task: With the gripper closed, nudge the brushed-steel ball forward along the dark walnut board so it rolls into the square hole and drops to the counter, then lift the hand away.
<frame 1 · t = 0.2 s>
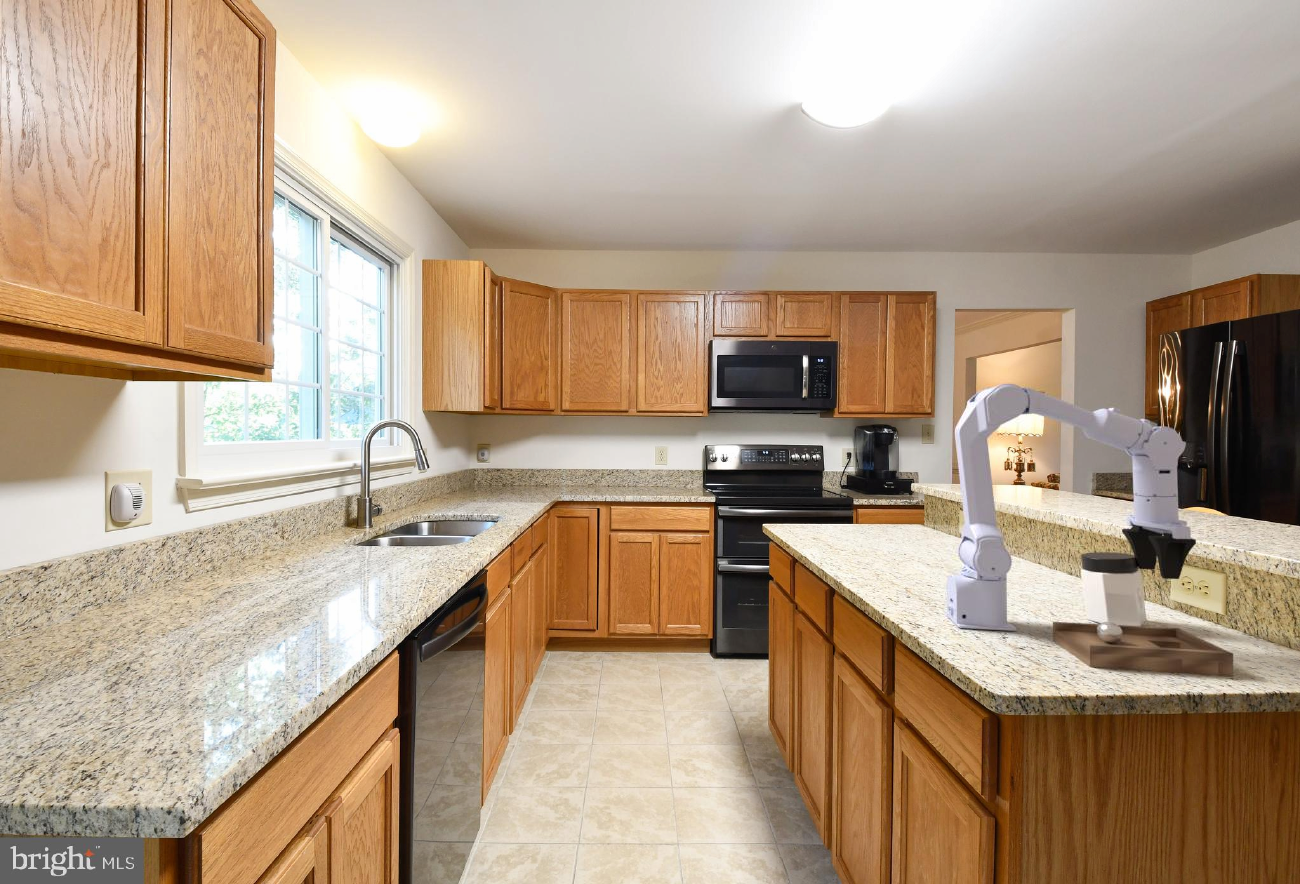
hand: (1158, 573, 97), 11 cm above the worktop, fingers open, 6 cm apart
jar: (1116, 621, 103), on the worktop, touching gripper
board: (1135, 656, 87), on the worktop
ball: (1109, 632, 88), point 4 cm above the worktop, touching board
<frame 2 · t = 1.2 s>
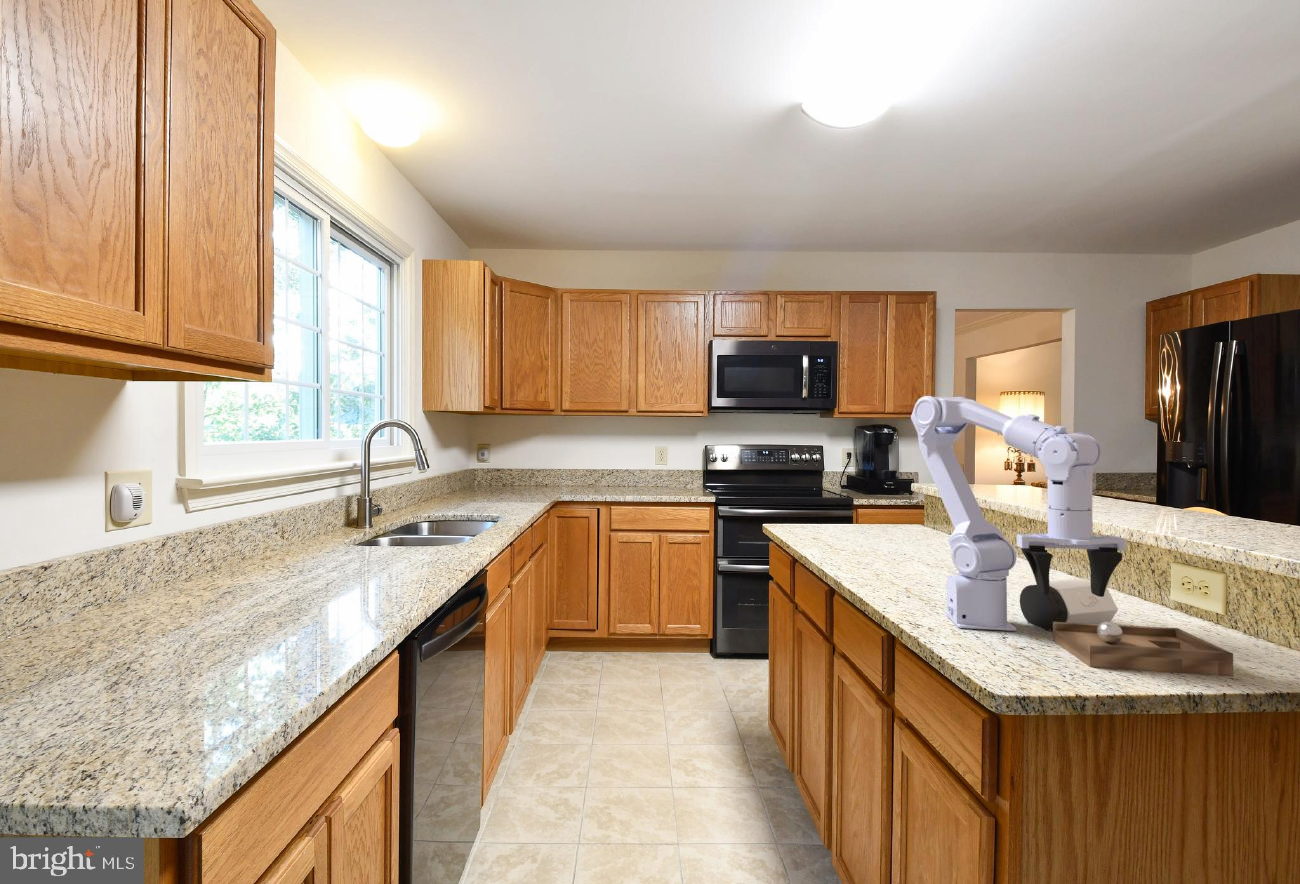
hand: (1070, 594, 89), 9 cm above the worktop, fingers open, 7 cm apart
jar: (1096, 602, 103), point 4 cm above the worktop
everything else where it was.
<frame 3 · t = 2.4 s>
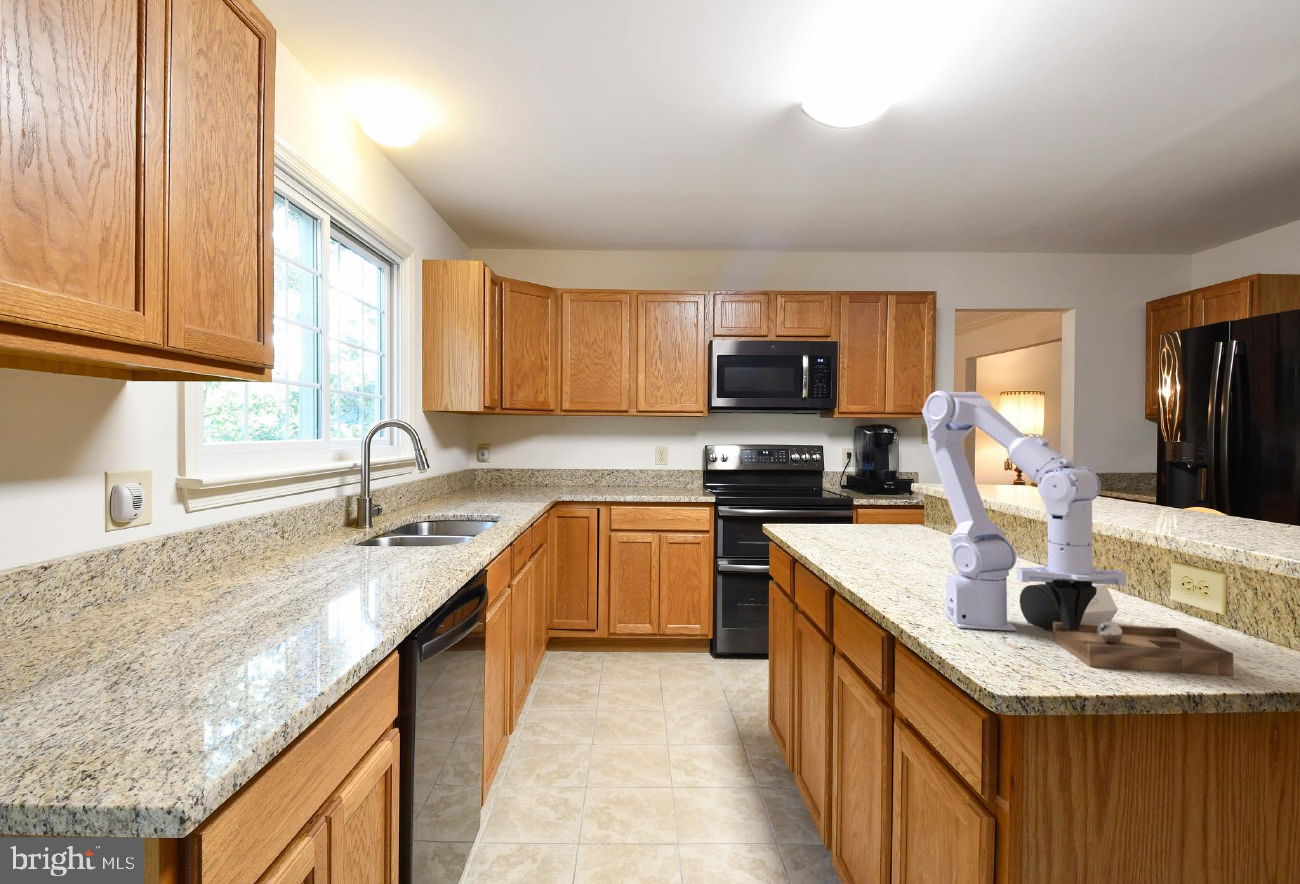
hand: (1070, 628, 89), 4 cm above the worktop, fingers closed
nothing on the worktop moved.
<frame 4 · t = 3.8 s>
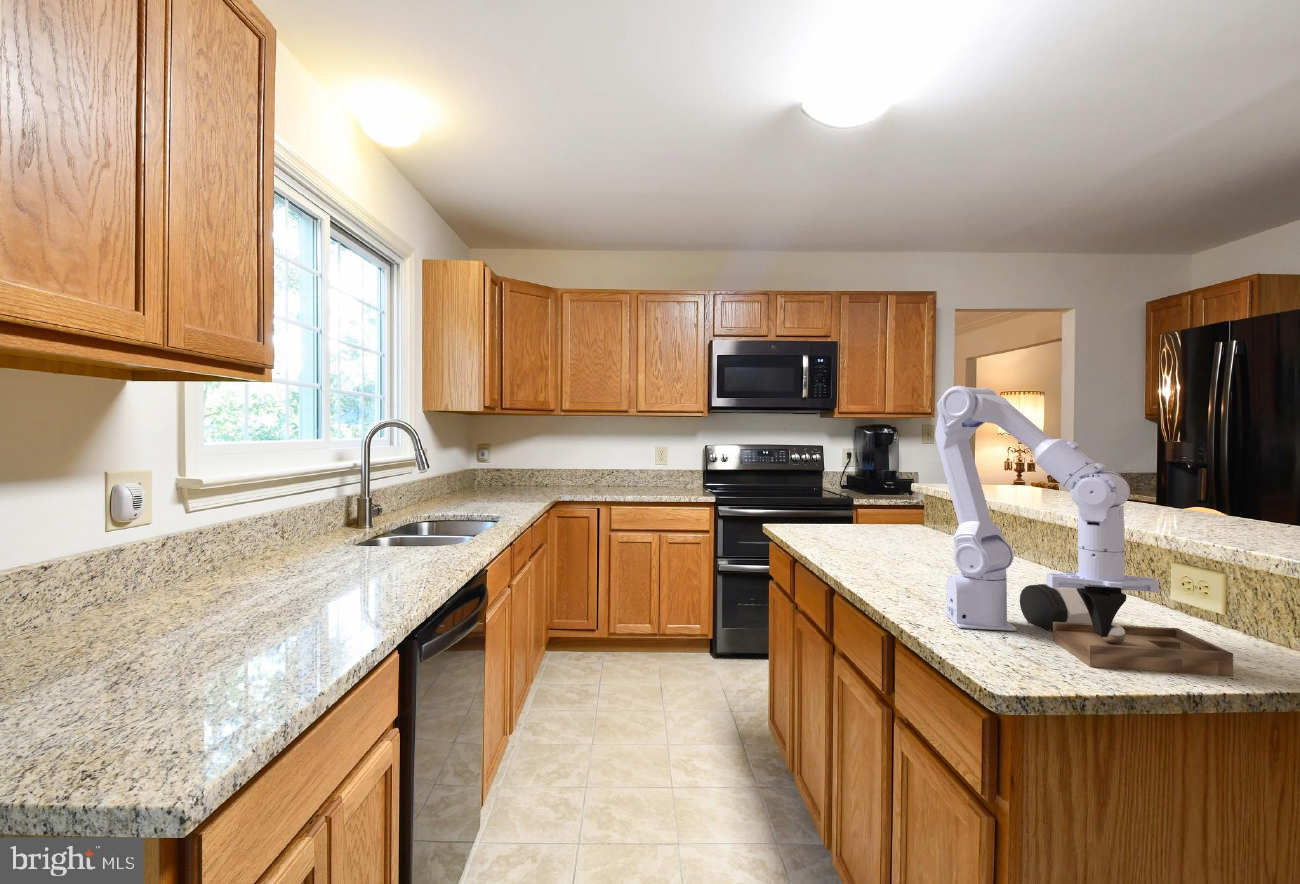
hand: (1101, 635, 88), 3 cm above the worktop, fingers closed, pressing on ball
ball: (1112, 633, 88), point 4 cm above the worktop, tilted 13°, touching board, gripper
everything else where it was.
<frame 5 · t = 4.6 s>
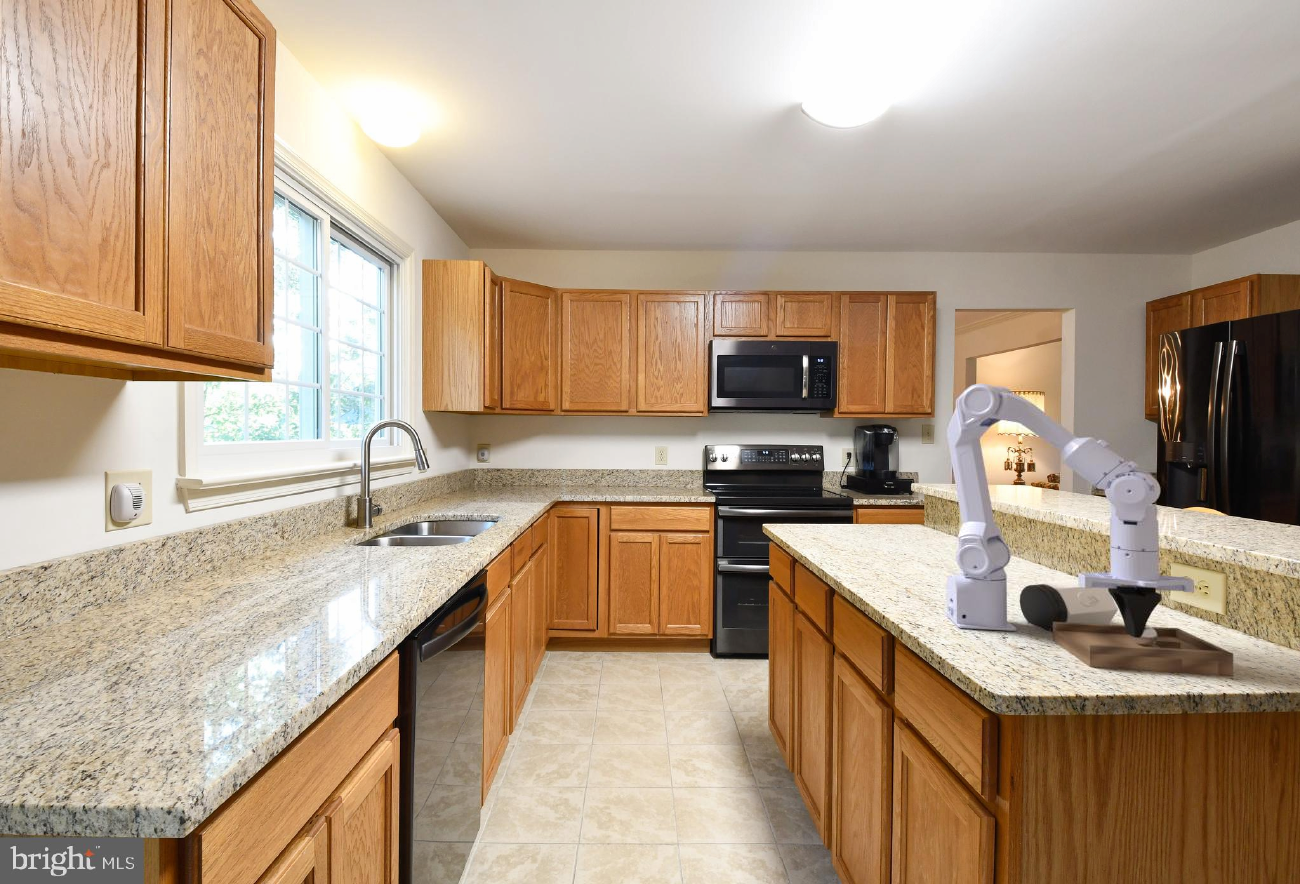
hand: (1135, 635, 87), 3 cm above the worktop, fingers closed, pressing on ball
ball: (1143, 634, 87), point 4 cm above the worktop, tilted 167°, touching board, gripper
everything else where it was.
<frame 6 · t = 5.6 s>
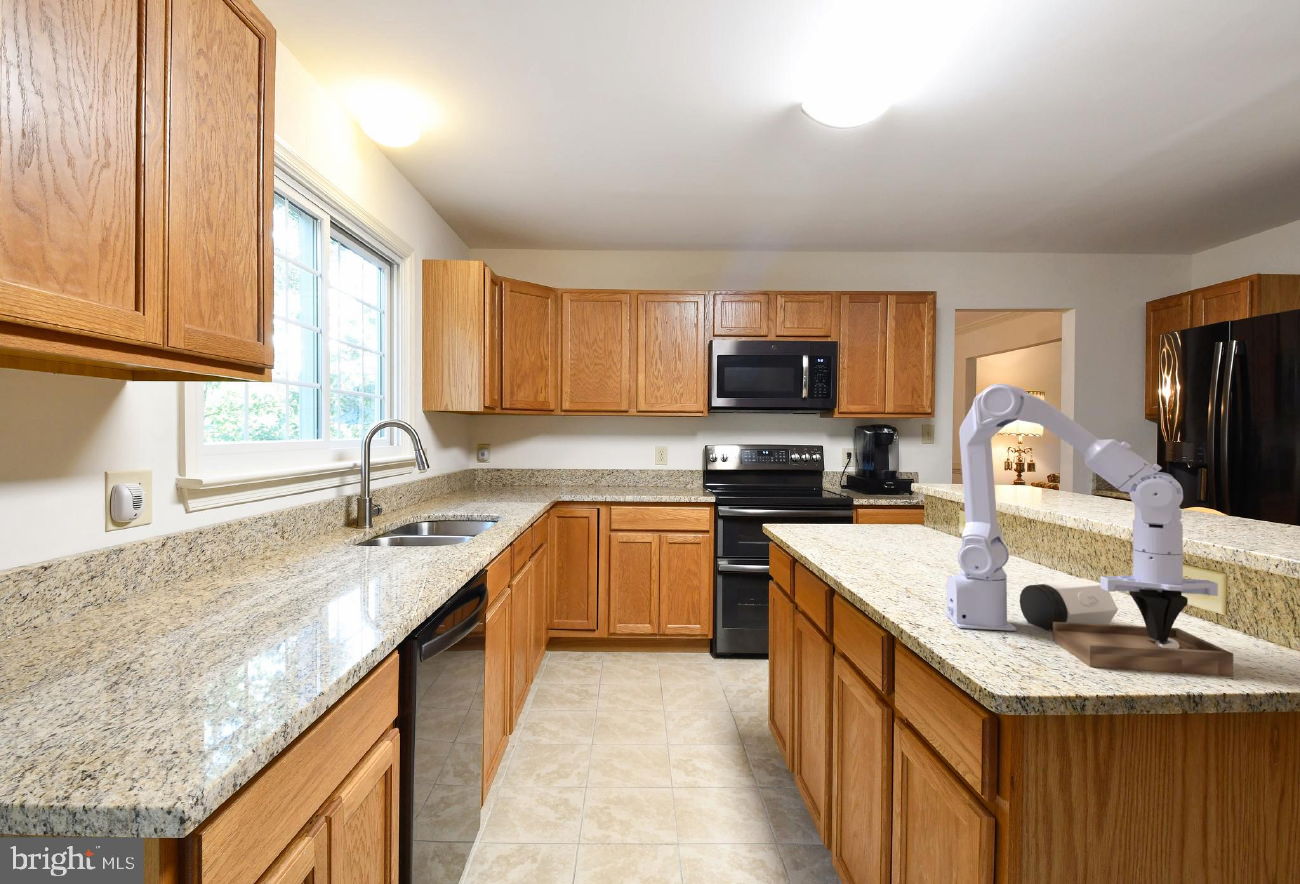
hand: (1157, 638, 86), 3 cm above the worktop, fingers closed
ball: (1168, 648, 86), point 2 cm above the worktop, tilted 18°, touching gripper
everything else where it was.
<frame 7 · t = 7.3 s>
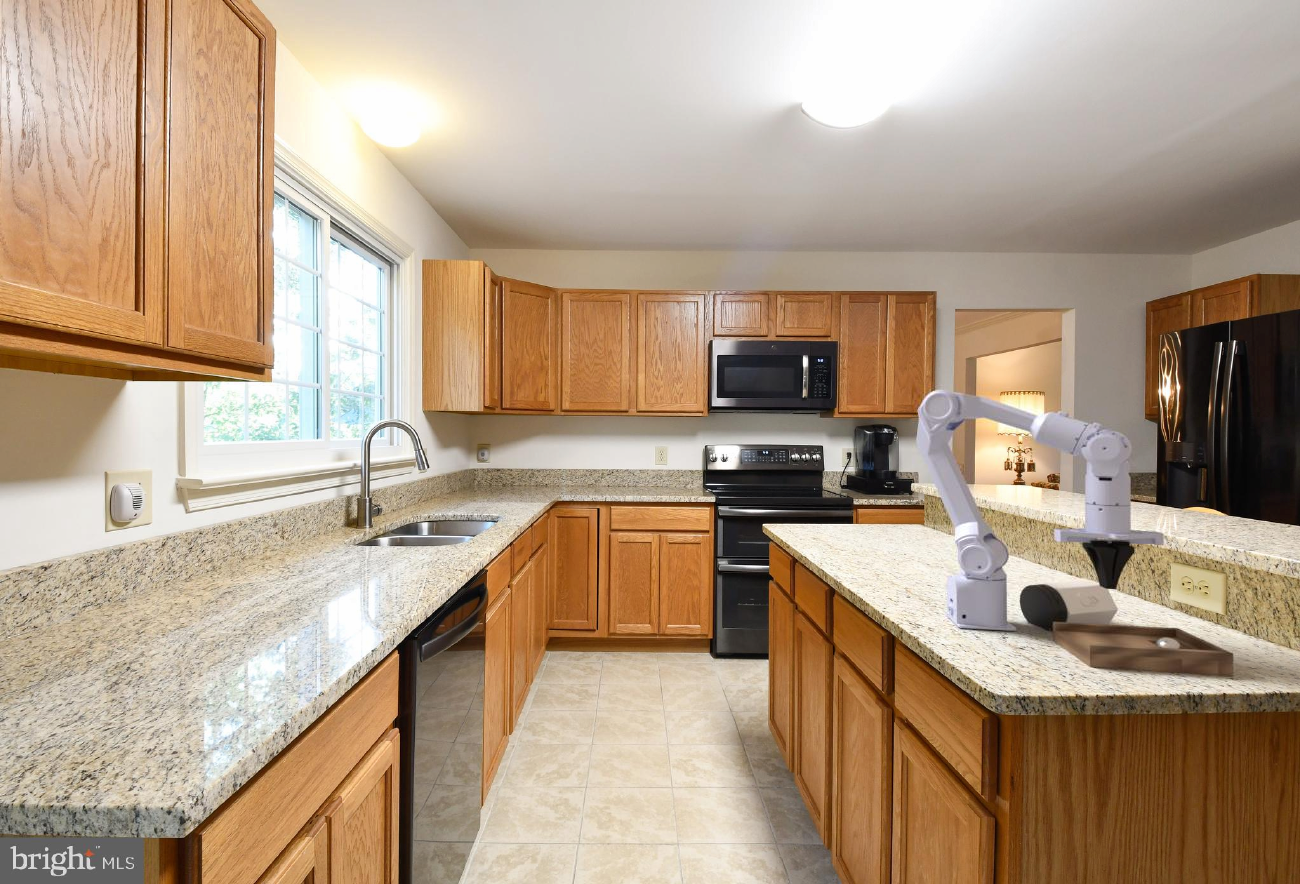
hand: (1107, 587, 91), 10 cm above the worktop, fingers closed
ball: (1168, 648, 86), point 2 cm above the worktop, tilted 16°
everything else where it was.
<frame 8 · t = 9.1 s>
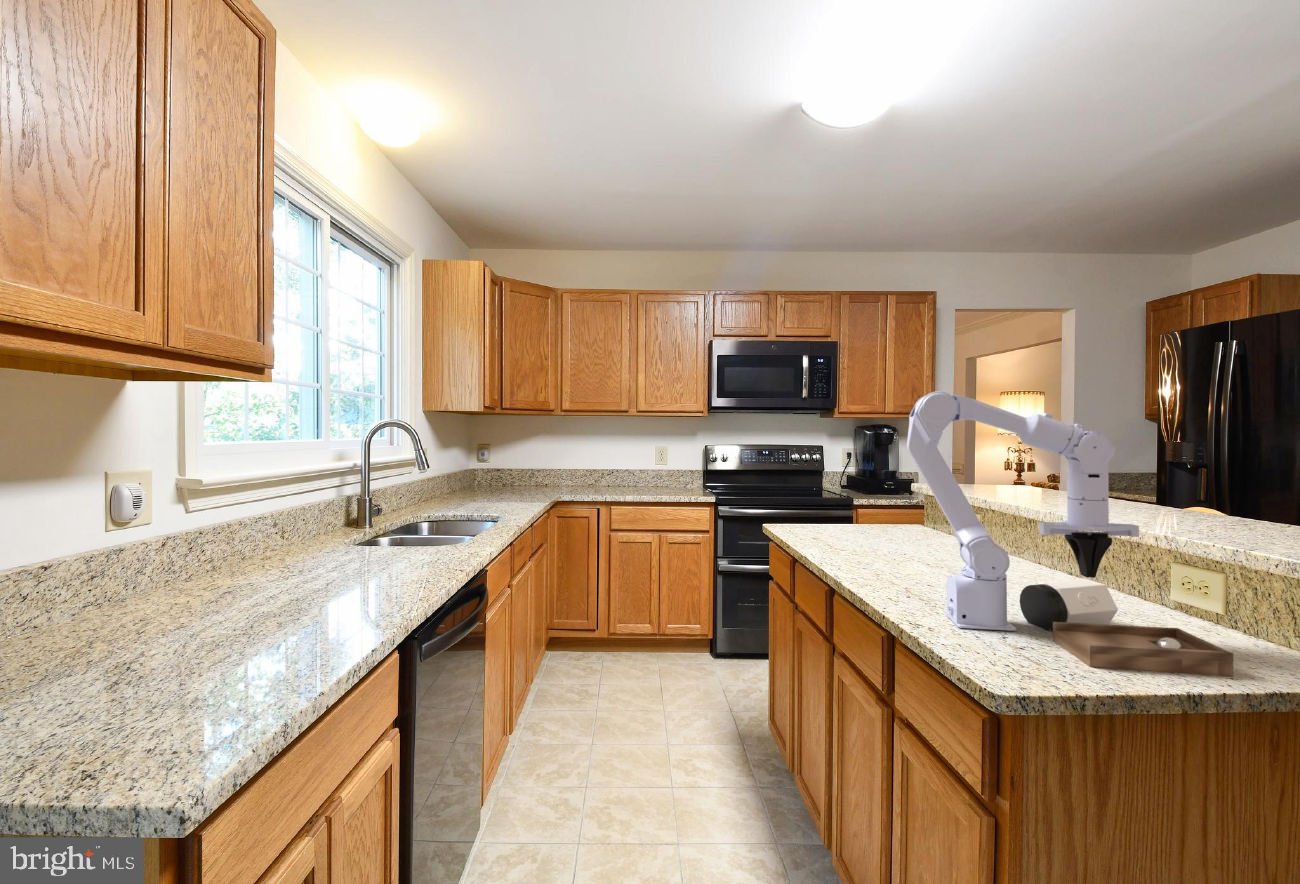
hand: (1088, 576, 98), 10 cm above the worktop, fingers closed
nothing on the worktop moved.
at the end: ball 0.4 cm from the target spot on the board, point 1.6 cm above the board's base; ball point 1.6 cm above the worktop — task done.
